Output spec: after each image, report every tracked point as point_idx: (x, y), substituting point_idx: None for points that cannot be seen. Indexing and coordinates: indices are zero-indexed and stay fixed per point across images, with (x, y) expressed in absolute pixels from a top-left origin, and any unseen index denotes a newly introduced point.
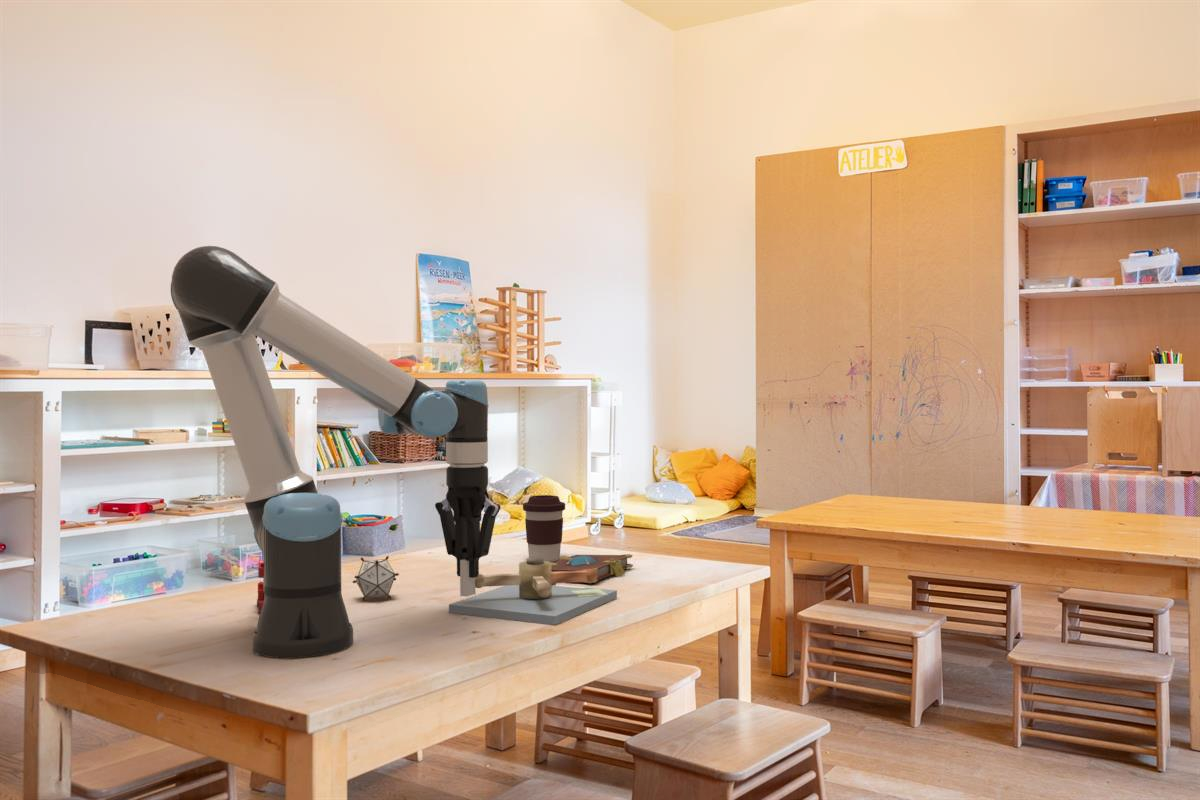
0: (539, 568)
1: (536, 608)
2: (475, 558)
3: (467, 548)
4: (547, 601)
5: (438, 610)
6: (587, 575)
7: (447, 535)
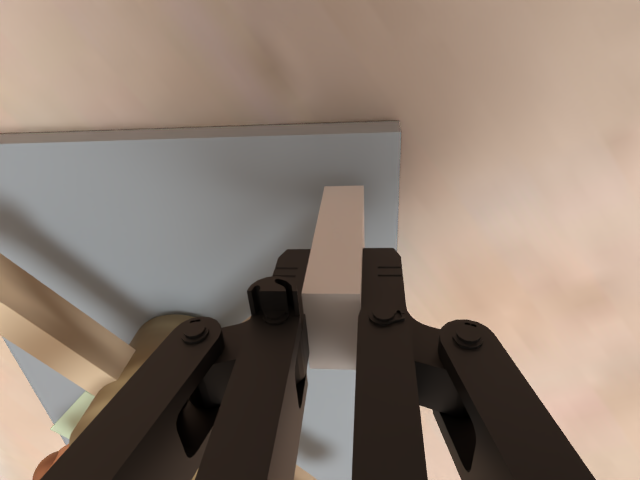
0: (81, 418)
1: (48, 222)
2: (248, 323)
3: (286, 363)
4: (111, 319)
5: (469, 137)
6: (47, 466)
7: (534, 469)
